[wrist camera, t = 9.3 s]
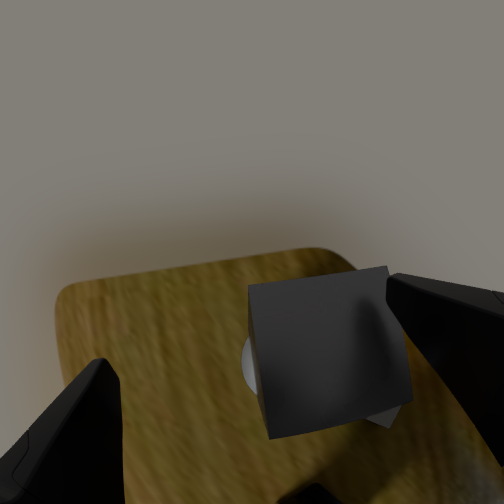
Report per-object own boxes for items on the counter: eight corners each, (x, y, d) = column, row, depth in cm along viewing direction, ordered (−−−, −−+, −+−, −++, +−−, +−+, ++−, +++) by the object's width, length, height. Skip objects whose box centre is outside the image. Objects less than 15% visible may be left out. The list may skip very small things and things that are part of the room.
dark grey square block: (330, 386, 18) (412, 400, 8) (257, 399, 17) (269, 439, 7) (318, 318, 20) (386, 265, 10) (248, 328, 19) (248, 285, 9)
